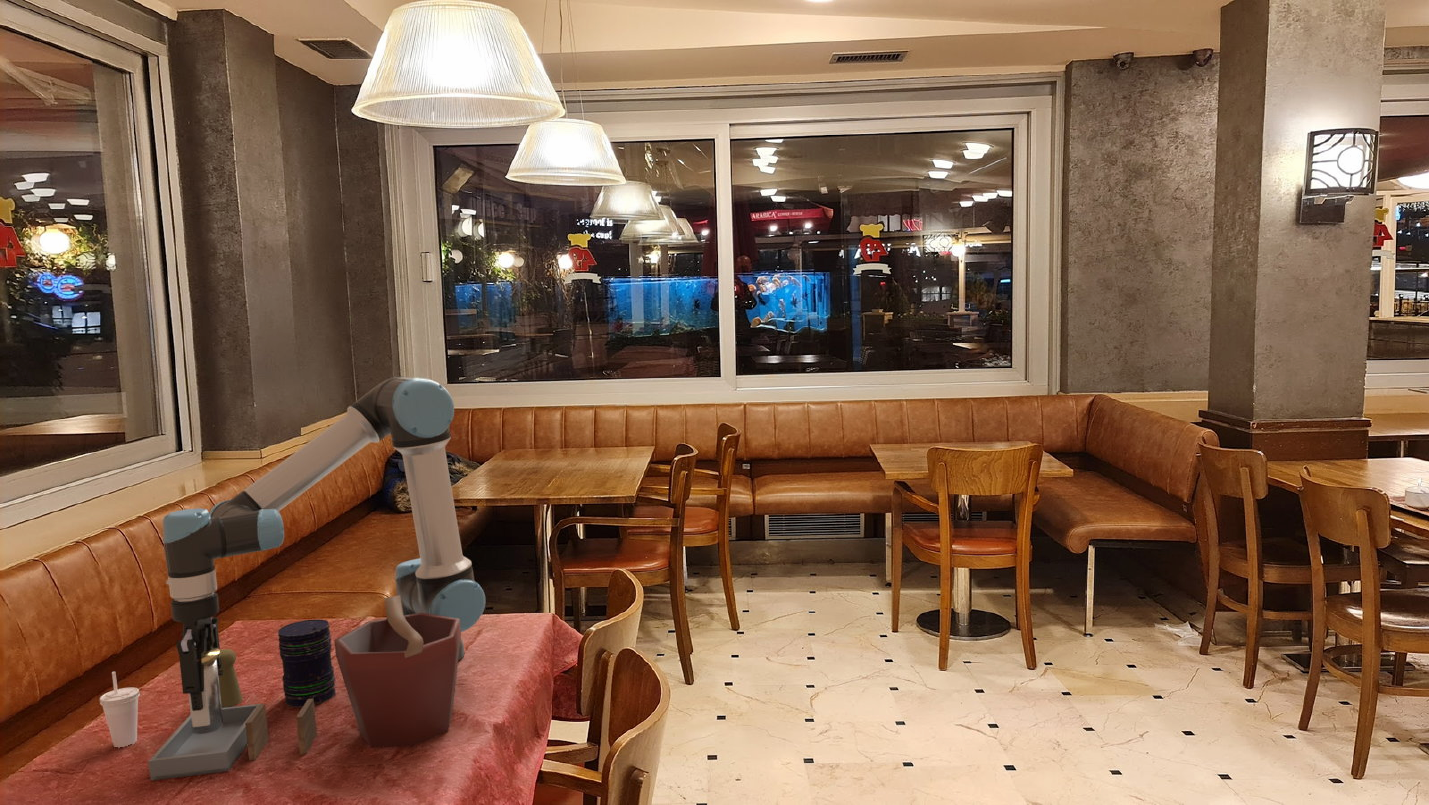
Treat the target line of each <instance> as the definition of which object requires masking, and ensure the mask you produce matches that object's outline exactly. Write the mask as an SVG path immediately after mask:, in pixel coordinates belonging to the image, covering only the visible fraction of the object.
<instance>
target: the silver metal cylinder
mask: <svg viewBox="0 0 1429 805" xmlns="http://www.w3.org/2000/svg"><path fill="white" fill-rule="evenodd" d="M220 650H221V648H220V649H218V648H212V649H211V650H206V652H204V657H203V658H202V665H203V664H204V689H207V696H208V706H209V715H210V725H208V726H199V727H193V724H192V730H193V733H195V734H205V733H210V732H213V731H216V730H218V729H220V728H221V727H222V726H223V716H222V706H221V697H220V687H219V678H218V669H217V659H218V658H220ZM198 661H199V660H197V662H198ZM188 700H189V703H190V696H189V695H188ZM189 711H190V713H191V706H190V705H189ZM190 715H191V714H190ZM191 721H192V715H191Z"/></svg>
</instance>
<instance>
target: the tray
mask: <svg viewBox="0 0 1429 805" xmlns="http://www.w3.org/2000/svg"><path fill="white" fill-rule="evenodd" d="M259 704H260V703H255V704H248V705H247V704H245V705H238V706H237V705H235V706H232V707H227V708H222V716H223V726H222V727H221V728H220V729H218V730H216V731H213V732H210V733H205V734H195V733H193V730H192V721H191V714H190V715H189V716H188V717H186V719H185V720H184V722H182V723H181V724H180V726H179V727H177V729H176V730H175V731H174V732H173V733H172V735H170V737H169V738H168V739H167V740H166V741H165V742H164V743H163V744H162V746H160V748H159V749H157V751H156V752H155V753H154V755H152V757H150V759H149V760H148V761H147V762H148V768H149V776H150V777H149V778H150V781H157V780H167V779H175V778H183V777H191V776H199V775H200V776H201V775H209V774H216V773H224V772H229V771H231V769H232V767H233V766H234V764H235V763H236V762H237V761H238V759H239V757H240V756H241V755H240V754H242V753H243V752H244V751H245V749H246V748H247V747H248V745H247V735H246V725H245V723H246V721H247V720H248V719H249V717H250V716H251V715H252V713H253V712H254V711H255V709H256V708H257V707H258V705H259ZM245 747H246V748H245ZM235 761H236V762H235ZM234 762H235V763H234Z"/></svg>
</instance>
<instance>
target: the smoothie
mask: <svg viewBox="0 0 1429 805" xmlns="http://www.w3.org/2000/svg"><path fill="white" fill-rule="evenodd" d="M111 676H112V685H113V690H111V691H109V692H106V693H104V694H103V695H100V697H99V704H100V705H101V706H102V709H103V713H104V715H105V719H106V723H107V727H108V729H109V730H108V731H109V734H110V736H111V741H112V745H113V747H114V748H115V747H118V748H117V749H120V747H123V748H126V747H125V746H127V747H129V746H128V745H130V744H132V745H134V744H136V743H137V742H138V715H139V714H138V711H139V710H138V705H139V697H140V695H141V693H140V689H139V688H137V687H123V688H119V689H118V683H117V682H118V681H117V675H116V671H112V672H111ZM136 741H137V742H136ZM135 742H136V743H135ZM130 746H131V745H130Z"/></svg>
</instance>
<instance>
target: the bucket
mask: <svg viewBox="0 0 1429 805" xmlns="http://www.w3.org/2000/svg"><path fill="white" fill-rule="evenodd" d="M384 604H385V617H386V618H383V619H375V620H370V621H367V622H365V623H363V624H361V625H360V626H357V627H356V628H354V629H352V630H350V631H348V632H347V633H345V634H343V635H341V636H339V637H337V638H335V639H334V642H333V643H334V649H335V650H334V651H335V652H334V653H335V656H336V660H337V665H338V667H339V670H340V674H341V676H342V680H343V682H344V686H345V690H346V692H347V695H348V698H349V702H350V705H351V707H352V711H353V714H354V715H353V716H354V718H355V720H356V724H357V727H358V730H359V733H360V735H361V736H362V738H363V739H364V741H366V742H367V744H368V746H370V748H371V749H377V748H378V749H379V748H380V749H381V748H388V749H389V748H414V747H415V746H417V745H420V744H422V743H424V742H427V741H429V740H432V739H435V738H437V737H439V736H441V735H444V734H446V733H449V729H450V726H451V721H452V717H453V712H454V701H455V693H456V685H457V684H456V683H457V674H458V665H459V661H458V657H459V648H460V639H462V632H461V627H460V619H458V618H452V617H446V616H440V615H434V614H427V613H417V614H411V615H405V616H404V614H403V608H402V603H401V597H400V595H399V596H397V595H395V596H388V597H384Z"/></svg>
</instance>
